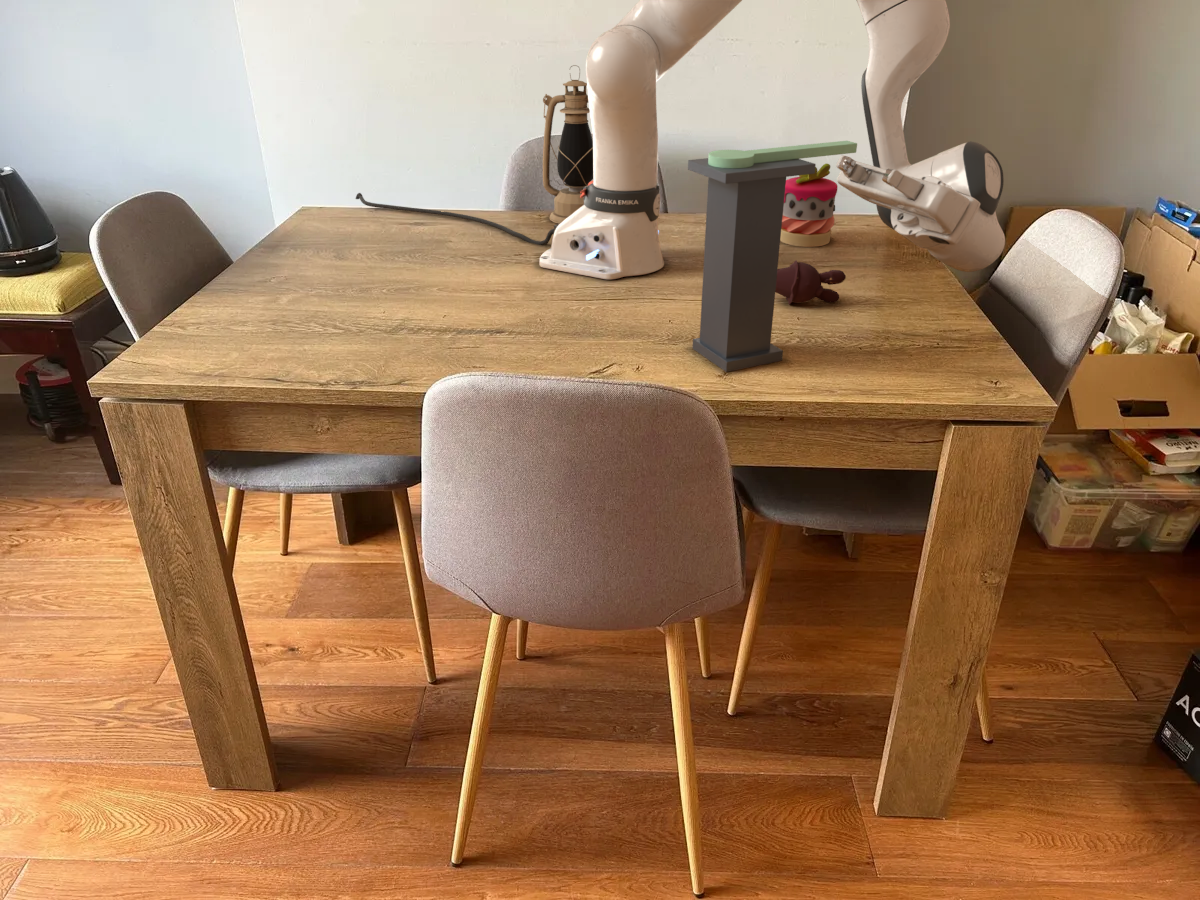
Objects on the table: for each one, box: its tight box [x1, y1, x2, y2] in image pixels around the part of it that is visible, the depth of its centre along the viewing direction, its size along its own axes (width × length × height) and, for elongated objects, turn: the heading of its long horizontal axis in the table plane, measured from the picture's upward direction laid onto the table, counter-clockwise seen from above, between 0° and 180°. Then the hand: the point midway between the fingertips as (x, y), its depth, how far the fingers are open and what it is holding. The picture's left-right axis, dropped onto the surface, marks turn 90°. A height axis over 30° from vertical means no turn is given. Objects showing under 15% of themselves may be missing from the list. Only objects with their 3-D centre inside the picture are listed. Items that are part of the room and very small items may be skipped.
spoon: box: [707, 140, 858, 169], centre depth 111 cm, size 21×6×1 cm, turn 115°
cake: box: [780, 162, 839, 248], centre depth 169 cm, size 10×11×15 cm
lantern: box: [542, 64, 593, 224], centre depth 181 cm, size 14×12×30 cm
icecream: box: [775, 259, 847, 305], centre depth 140 cm, size 7×7×15 cm
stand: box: [687, 157, 817, 373], centre depth 116 cm, size 13×9×26 cm
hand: (864, 167), depth 118 cm, fingers open, 8 cm apart
